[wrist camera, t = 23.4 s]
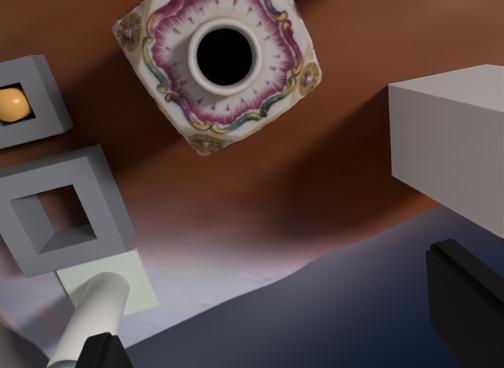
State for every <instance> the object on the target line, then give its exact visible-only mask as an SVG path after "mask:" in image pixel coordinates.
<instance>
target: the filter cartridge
mask: <svg viewBox="0 0 504 368" xmlns="http://www.w3.org/2000/svg"><path fill="white" fill-rule="evenodd" d="M129 293H130V286H129V284H128V282H127V280H126V279H125V278H124V277H123V276H121V275H119V274H117V273H114V272H102V273H98V274H96V275H95V276H93V277H92V278H91V279H90V281H89V283H88V285H87V287H86V289H85V291H84V293H83V295H82V297H81V299H80V301H79V303H78V305H77V307H76V309H75V311H74V313H73V315H72V317H71V319H70V321H69V323H68V325H67V327H66V329H65V331H64V333H63V335H62V337H61V339H60V341H59V343H58V345H57V347H56V349H55V351H54V353H53V355H52V357H51V359H50V361H49V364H48V365H47V367H46V368H75V365H76V363H77V360H78V358H79V355H80V353H81V350H82V348H83V345H84V343H85V341H86V339H87V338H88V337H90V336H93V335H97V334H101V333H104V332H110V333H111V334H112V336H113V335H116V334H117V331H118V328H119V325H120V322H121V318H122V315H123V312H124V309H125V305H126V302H127V299H128V296H129Z"/></svg>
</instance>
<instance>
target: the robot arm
mask: <svg viewBox="0 0 504 368" xmlns="http://www.w3.org/2000/svg"><path fill="white" fill-rule="evenodd" d="M426 261H427V280H428V294H429V295H428V296H429V311H430V322H431V325H432V327H433V329H434V331H435V332H436V334H437V335H438V336H439V338H440V339H441V340H442V341H443V343H444V344H445V345H446V346H447V348H448V349H449V350H450V351H451V352H452V354H453V355H454V356H455V357H456V359H457V360H458V361H459V362H460V364H461V365H462V366H463V367H464V368H504V278H503V277H502V276H500V275H498V274H497V273H496V272H494V271H493V270H492V269H491V268H489V267H488V266H487V265H486V264H484V263H483V262H482V261H480V260H479V259H478V258H477V257H475V256H474V255H473V254H471V253H470V252H469V251H468V250H466V249H465V248H464V247H462V246H461V245H460V244H459V243H457V242H456V241H454V240H453V239H448V240H445V241H441V242H438V243H434V244H432V245H431V247H430V250H428V251H427V252H426ZM75 368H133V366H132V364H131V362H130V360H129V358H128V356H127V354H126V352H125V349H124V347H123V345H122V343H121V341H120V339H119V337H118V336H117V335H113V336H112V334H111V333H110V332H104V333H101V334H97V335H93V336H90V337H88V338H87V339H86V341H85V343H84V345H83V348H82V350H81V353H80V355H79V358H78V360H77V363H76V365H75Z"/></svg>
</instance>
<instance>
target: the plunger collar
mask: <svg viewBox="0 0 504 368" xmlns="http://www.w3.org/2000/svg"><path fill="white" fill-rule="evenodd" d="M16 83H21V86H22V88H23V90H24V92H25V94H26V96H27V99H28V101H29V103H30V105H31V107H32V110H33V112H34V114H35V117H31V118H27V119H23V120H19V121H12V122H8V121H4V120H1V119H0V149H1V148H5V147H9V146H13V145H17V144H21V143H25V142H29V141H33V140H37V139H40V138H44V137H48V136H52V135H56V134H60V133H64V132H66V131H68V130H69V129H71V128H72V127H74V124H73V122H72V120H71V117H70V115H69V113H68V110H67V108H66V106H65V103H64V101H63V98H62V96H61V94H60V91H59V89H58V87H57V84H56V82H55V79H54V77H53V75H52V72H51V70H50V68H49V65H48V63H47V60H46V58H45V56H44V55H30V56H26V57H22V58H18V59H14V60H10V61H6V62H2V63H0V87H4V86H8V85H12V84H16Z"/></svg>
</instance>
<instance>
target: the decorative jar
mask: <svg viewBox="0 0 504 368" xmlns="http://www.w3.org/2000/svg"><path fill="white" fill-rule="evenodd" d="M113 34H114V38H115V40H116V42H117V43H118V44H119V46H120V48H121V51H122V53H123V54H124V56H125V58H126V59H127V60H129V61H130V63H131V65H132V68H133V70H134V72H135V74H136V75H137V76H138V78H139V79H140V81H141V83H142V84H143V86H144V87H145V88H146V90H147V91H148V93H149V95H150V96H151V97H152V98H153V99H154V101H155V102H156V104H157V107H158V108H159V110H160V111H161V112H162V113H163V114H164V115H165V117H166V118H167V119H168V120H169V121H170V122H171V123H172V124H173V126H174V127H175V128H176V130H177V131H178V133H180V134H181V135H183V136H184V139H185V140H186V141H187V142H188V143H189V144H190V145H191V146H192V147H193V148H194V150H195V152H196V154H198V155H202V156H204V155H209V154H211V153H214V152H217V151H220V150H222V149H225V148H227V147H228V145H229V144H232V143H237V142H239V141H241V140H242V139H244V138H245V137H247V136H249V135H251V134H253V133H256V132H258V131H259V130H261V129H262V128H264V127H266V126H267V125H269V124H270V123H272V122H273V121H275V120H276V119H277V117H278V116H280V115H281V114H282V113H284V112H285V111H287V110H288V109H290V108H291V107H293V106H294V105H295V104H296V103H297V101H298V100H300V99H303V98H304V97H305V96H306V95H307V94H308V93H309V92H311V91H312V90H313V89H314V88H316V87H317V86H318V84H319V83H320V81H321V78H322V71H321V69H320V63H319V58H318V56H317V53H316V52H315V51H314V46H313V42H312V40H311V38H310V36H309V34H308V31H307V29H306V27H305V25H304V22H303V20H302V18H301V16H300V14H299V13H298V11H297V8H296V4H295V2H294V0H142V2H141V4H136V5H135V6H133V7H132V8H131V9H130V10H129V11H128V12H127V14H126V15H124V16H123V17H121V18H119V19H117V20H116V21H115V24H114V26H113Z"/></svg>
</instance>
